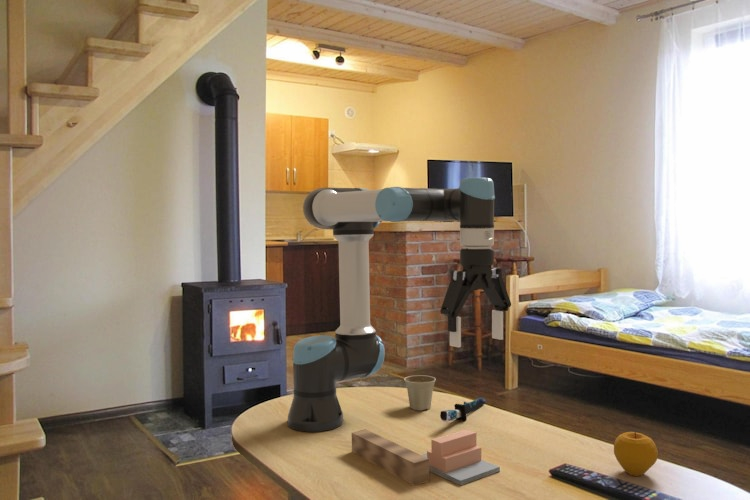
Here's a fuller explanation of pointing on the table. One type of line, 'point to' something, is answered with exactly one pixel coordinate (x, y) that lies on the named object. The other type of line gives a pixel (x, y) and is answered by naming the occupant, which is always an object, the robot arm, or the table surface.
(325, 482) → the table surface
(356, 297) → the robot arm
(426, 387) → the flower pot
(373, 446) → the batten
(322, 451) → the table surface
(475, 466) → the pink stepped block
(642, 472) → the apple
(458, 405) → the knife
